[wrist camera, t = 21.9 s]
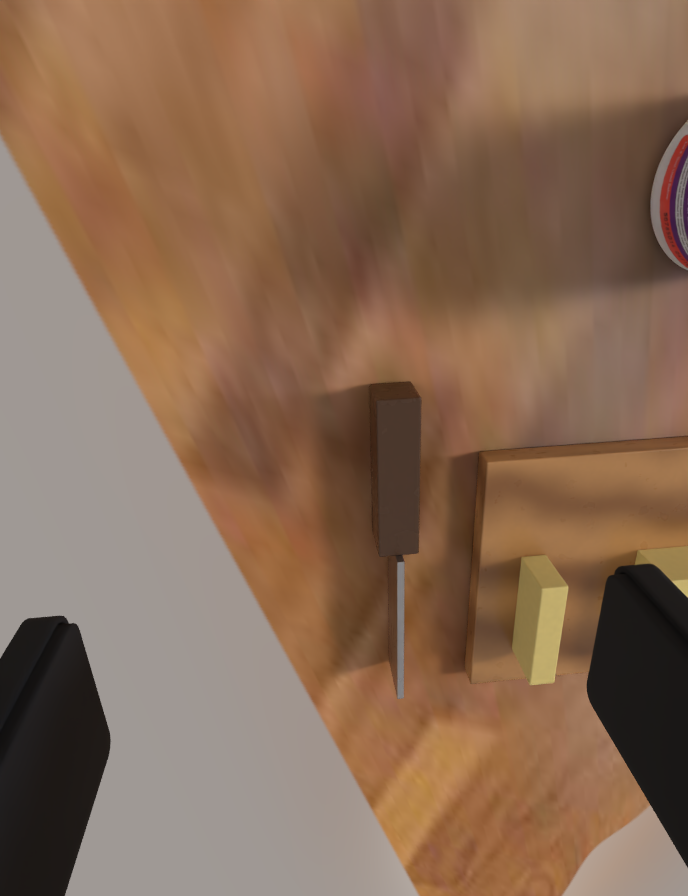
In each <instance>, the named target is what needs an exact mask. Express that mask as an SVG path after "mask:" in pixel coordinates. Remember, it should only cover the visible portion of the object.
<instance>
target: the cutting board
mask: <svg viewBox="0 0 688 896" xmlns="http://www.w3.org/2000/svg"><path fill="white" fill-rule="evenodd" d="M681 546H688V436H685V437H671V438H658V439H644V440H630V441H617V442H603V443H589V444H576V445H562V446H548V447H535V448H521V449H507V450H494V451H480V452H479V461H478V476H477V491H476V505H475V520H474V535H473V550H472V565H471V579H470V594H469V609H468V624H467V639H466V654H465V670H466V672H467V675H468V678H469V680H470V683H471V684H476V683H486V682H496V681H506V680H515V679H525V678H526V676H525V674H524V672H523V670H522V668H521V666H520V664H519V662H518V660H517V658H516V656H515V654H514V652H513V650H512V642H513V633H514V623H515V614H516V605H517V595H518V586H519V577H520V567H521V558H522V557H527V556H538V555H546V556H547V557H548V559H549V560H550V561H551V563H552V564H553V566H554V567H555V568H556V570H557V571H558V573H559V574H560V575H561V577H562V578H563V580H564V581H565V582H566V584H567V585H568V594H567V600H566V607H565V614H564V620H563V627H562V633H561V640H560V647H559V653H558V660H557V666H556V673H555V675H565V674H575V673H584V672H589V669H590V664H591V658H592V653H593V648H594V642H595V637H596V632H597V627H598V621H599V616H600V611H601V605H602V600H603V595H604V589H605V584H606V580H607V578H608V577H609V576H610V575H614V572H615V570H616V569H617V568H618V567H620V566H627V565H635V561H636V556H637V551H638V550H647V549H658V548H670V547H681Z"/></svg>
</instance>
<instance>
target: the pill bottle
mask: <svg viewBox="0 0 688 896" xmlns="http://www.w3.org/2000/svg"><path fill="white" fill-rule="evenodd" d="M650 209H651V221H652V226H653V230H654V233H655V236H656V238H657V240H658V242H659V244H660V246H661V248H662V249H663V251H664V252H665V253H666V255H667V256H668V257H669V258H670V259H671V260H672V261H673V262H675V263H676V264H677V265H679V266H680V267H682V268H684V269H686V270H688V121H687V122H686V123H685V124H684V125H683V126H682V128H681V129H680V130H679V131H678V133H677V134H676V135H675V136H674V138H673V139H672V141H671V142H670V144H669V146H668V148H667V149H666V151H665V153H664V155H663V157H662V159H661V161H660V164H659V166H658V169H657V172H656V175H655V179H654V182H653V187H652V192H651V207H650Z"/></svg>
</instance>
